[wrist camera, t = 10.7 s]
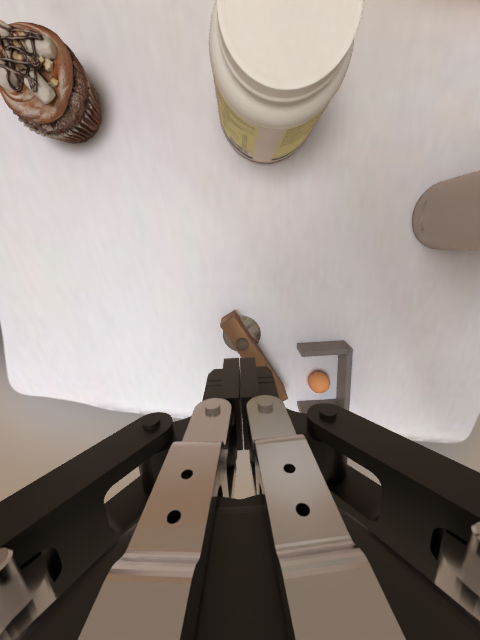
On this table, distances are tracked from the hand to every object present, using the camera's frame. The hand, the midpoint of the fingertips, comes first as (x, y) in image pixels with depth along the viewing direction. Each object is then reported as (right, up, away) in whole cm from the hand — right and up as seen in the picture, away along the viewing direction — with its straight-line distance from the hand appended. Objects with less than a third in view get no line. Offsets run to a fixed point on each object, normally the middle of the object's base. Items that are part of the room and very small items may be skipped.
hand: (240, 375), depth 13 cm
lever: (+2, -3, +31) cm, 31 cm away
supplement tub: (+3, +30, +22) cm, 37 cm away
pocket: (+13, -6, +32) cm, 35 cm away
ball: (+14, -7, +31) cm, 35 cm away
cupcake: (-22, +30, +22) cm, 43 cm away
